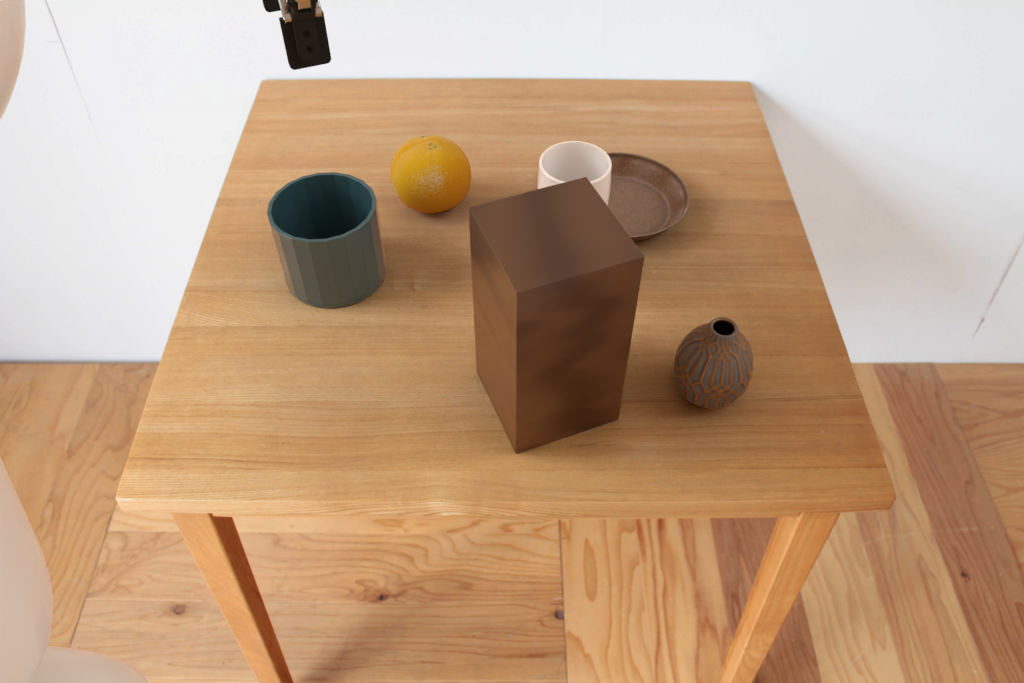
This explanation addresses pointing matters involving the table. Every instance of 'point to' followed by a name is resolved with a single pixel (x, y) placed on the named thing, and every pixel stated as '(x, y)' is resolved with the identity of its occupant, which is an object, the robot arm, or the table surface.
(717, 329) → the vase
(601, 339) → the stand
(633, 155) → the saucer
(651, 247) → the table surface
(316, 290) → the tumbler
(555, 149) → the tall white cup
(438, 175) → the fruit
